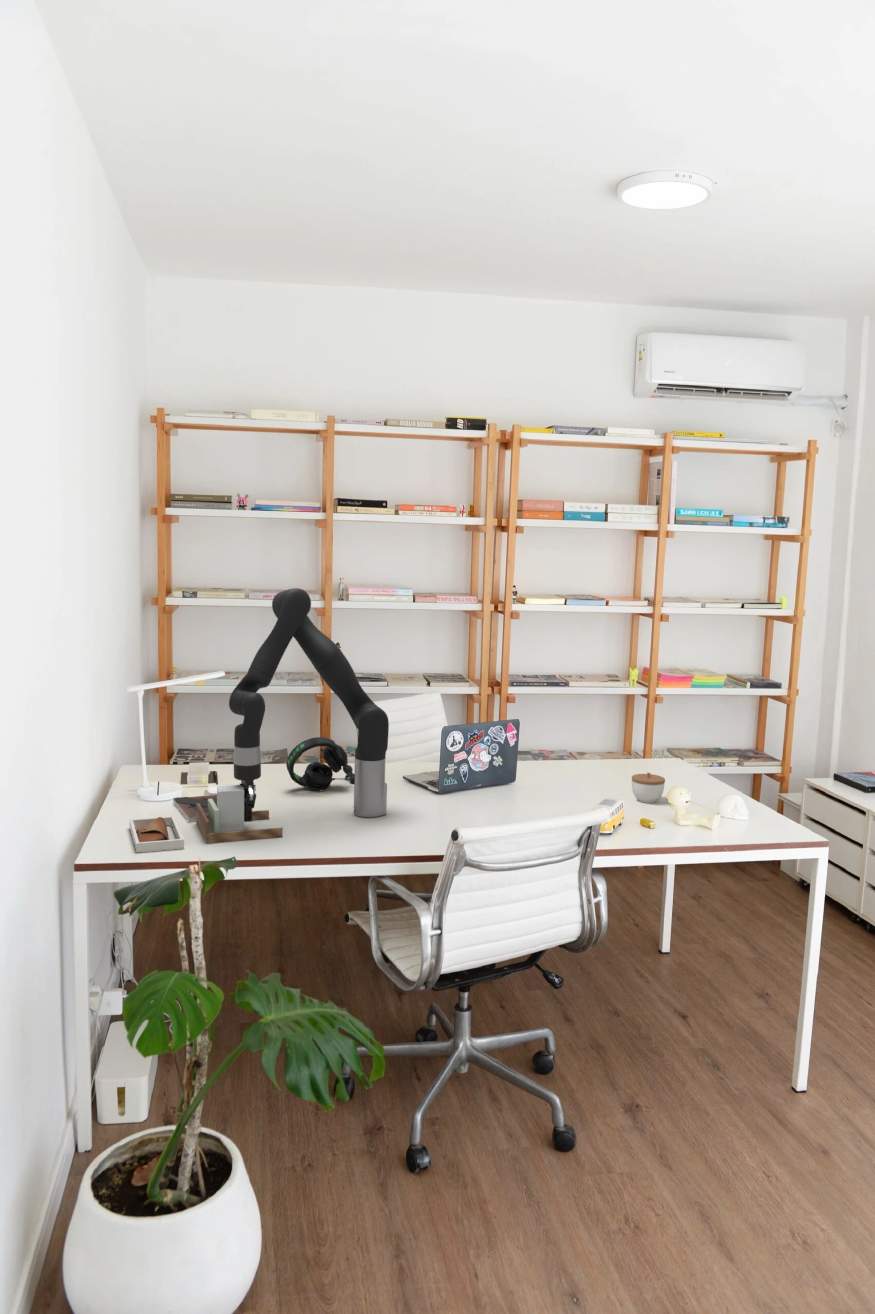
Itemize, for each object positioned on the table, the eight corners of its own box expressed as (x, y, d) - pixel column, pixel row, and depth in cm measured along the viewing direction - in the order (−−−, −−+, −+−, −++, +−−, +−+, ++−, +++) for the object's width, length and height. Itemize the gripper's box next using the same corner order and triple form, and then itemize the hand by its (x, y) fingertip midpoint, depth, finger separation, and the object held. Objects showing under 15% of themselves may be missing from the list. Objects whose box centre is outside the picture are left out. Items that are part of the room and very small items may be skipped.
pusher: (212, 825, 275) (212, 798, 274) (218, 838, 264) (219, 810, 263) (207, 826, 275) (207, 798, 274) (214, 838, 264) (214, 810, 263)
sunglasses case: (133, 829, 269) (146, 808, 270) (155, 840, 272) (168, 819, 272) (136, 849, 253) (150, 827, 253) (160, 861, 255) (173, 839, 256)
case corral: (174, 824, 275) (174, 816, 275) (184, 848, 255) (184, 839, 254) (129, 828, 270) (129, 819, 270) (136, 852, 250) (136, 843, 250)
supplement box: (244, 835, 268) (244, 790, 266) (217, 836, 266) (217, 791, 264) (243, 827, 275) (243, 784, 273) (216, 828, 273) (216, 784, 272)
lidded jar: (636, 794, 325) (638, 767, 324) (667, 799, 320) (669, 772, 319) (625, 801, 316) (627, 773, 315) (657, 806, 311) (659, 778, 310)
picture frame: (173, 805, 296) (189, 825, 277) (173, 797, 296) (189, 816, 277) (226, 800, 304) (245, 819, 285) (226, 793, 304) (245, 811, 285)
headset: (345, 810, 326) (280, 781, 307) (333, 784, 336) (269, 755, 318) (379, 772, 322) (315, 740, 304) (365, 747, 333) (303, 715, 314)
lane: (268, 818, 284) (268, 798, 284) (282, 836, 267) (282, 815, 267) (196, 823, 277) (196, 803, 276) (206, 843, 260) (206, 821, 259)
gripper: (265, 765, 266) (265, 826, 268) (256, 754, 278) (256, 813, 280) (238, 767, 263) (238, 829, 265) (229, 756, 275) (230, 815, 278)
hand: (247, 820), depth 273 cm, fingers closed
